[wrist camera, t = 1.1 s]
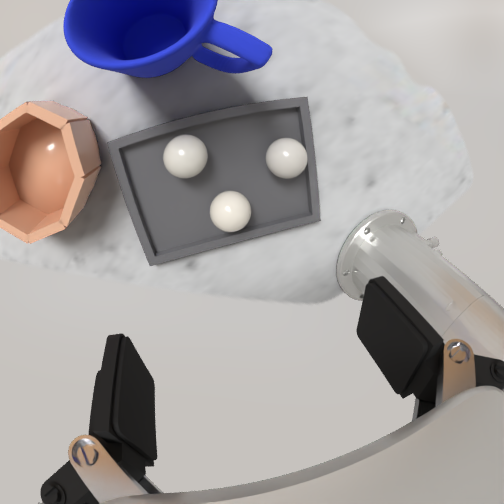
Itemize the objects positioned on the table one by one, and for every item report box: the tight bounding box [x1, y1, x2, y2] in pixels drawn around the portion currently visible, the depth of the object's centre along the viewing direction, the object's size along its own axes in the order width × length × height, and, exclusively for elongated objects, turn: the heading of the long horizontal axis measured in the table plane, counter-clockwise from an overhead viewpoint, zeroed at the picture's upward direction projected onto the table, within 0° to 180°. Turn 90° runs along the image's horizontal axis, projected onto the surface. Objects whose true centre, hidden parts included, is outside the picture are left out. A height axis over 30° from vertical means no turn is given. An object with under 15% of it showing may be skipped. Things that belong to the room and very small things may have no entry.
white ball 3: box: [266, 138, 308, 179], centre depth 22 cm, size 4×4×4 cm
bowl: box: [0, 101, 101, 244], centre depth 17 cm, size 11×11×5 cm
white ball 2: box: [210, 191, 251, 232], centre depth 23 cm, size 4×4×4 cm
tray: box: [107, 97, 321, 266], centre depth 23 cm, size 17×12×1 cm
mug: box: [64, 0, 272, 78], centre depth 13 cm, size 8×12×10 cm
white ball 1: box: [163, 135, 208, 178], centre depth 20 cm, size 4×4×4 cm
